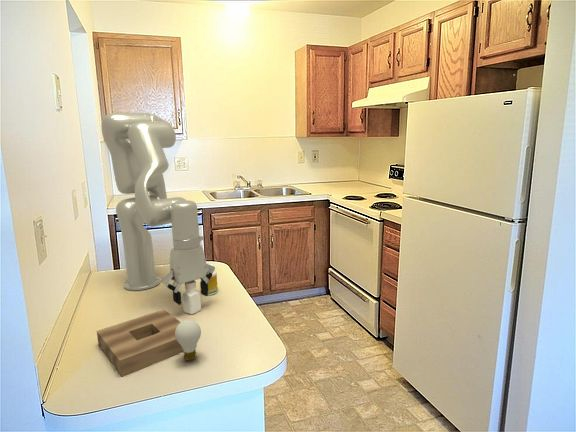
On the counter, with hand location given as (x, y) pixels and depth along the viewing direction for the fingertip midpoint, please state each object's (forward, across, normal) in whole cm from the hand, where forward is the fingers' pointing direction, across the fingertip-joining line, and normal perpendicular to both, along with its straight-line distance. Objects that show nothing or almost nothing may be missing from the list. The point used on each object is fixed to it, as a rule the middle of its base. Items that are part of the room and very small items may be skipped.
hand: (191, 298), depth 117 cm
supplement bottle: (+4, -11, -9) cm, 15 cm away
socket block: (+4, +18, +10) cm, 21 cm away
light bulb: (+4, +12, +23) cm, 27 cm away
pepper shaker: (+4, 0, 0) cm, 4 cm away
